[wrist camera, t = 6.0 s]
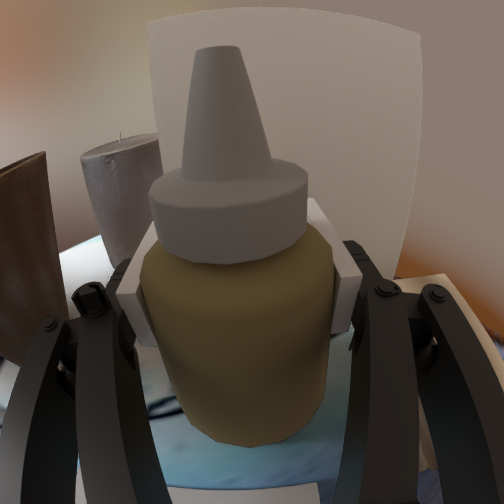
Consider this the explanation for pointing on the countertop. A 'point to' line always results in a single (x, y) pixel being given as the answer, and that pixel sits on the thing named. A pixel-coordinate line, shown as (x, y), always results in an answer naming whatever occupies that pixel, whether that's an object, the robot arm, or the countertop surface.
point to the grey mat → (231, 495)
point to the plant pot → (27, 256)
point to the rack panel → (313, 107)
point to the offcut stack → (415, 286)
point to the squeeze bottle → (237, 270)
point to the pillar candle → (122, 191)
